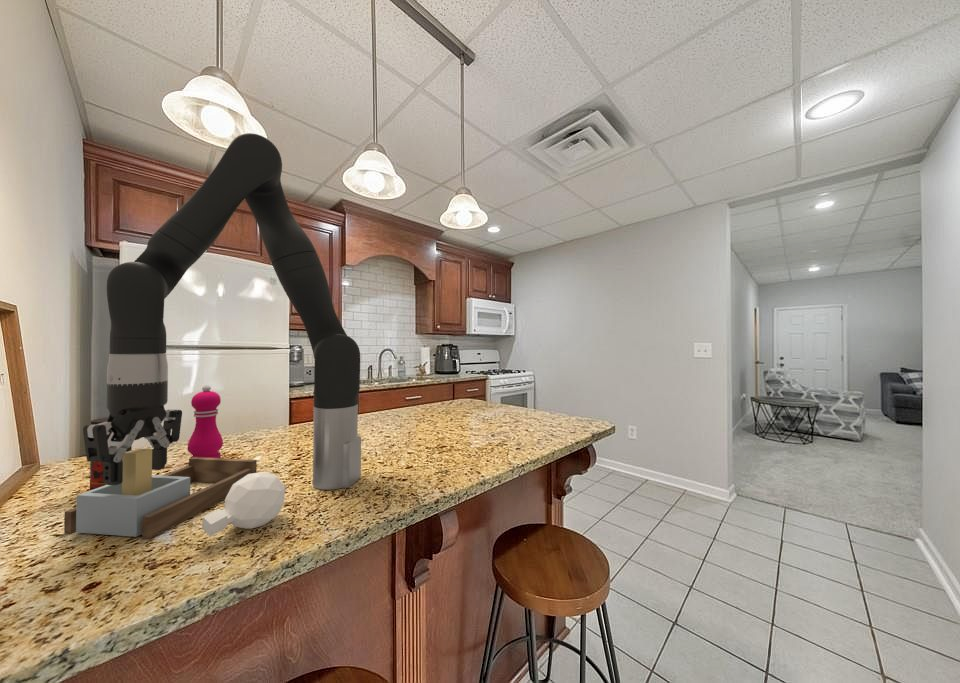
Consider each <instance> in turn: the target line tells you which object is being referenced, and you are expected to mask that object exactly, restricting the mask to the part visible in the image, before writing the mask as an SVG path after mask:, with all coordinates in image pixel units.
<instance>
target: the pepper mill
mask: <svg viewBox="0 0 960 683" xmlns="http://www.w3.org/2000/svg"><path fill="white" fill-rule="evenodd" d="M211 388H212V387H211V386H210V385H203V386H202V388H201V391H200V392H198V393H196V394H195V395H193V396H192V397H191V398H192V399H191V402H190V403H191V407H192V408H193V409H194V411H193V417H194V418H195V426H194V430H193V431H192V434H191V436H190V438H189V440H188V443H187V451H188V453H189V454H191V456H190V457H189V459H190V458H193V457H204V458H221V452H219V451H220V450H221V449H222V448H223V446H224V441H223V436H222V434H221V433H220V431H219V429H218V426H217V415H218V414H219V412H218V411H219V408H218V407H219V406H220V405H221V399H222V398H221V396H220V394H219V393H218V392H215V391H213V390H211Z"/></svg>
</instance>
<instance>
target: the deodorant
mask: <svg viewBox="0 0 960 683" xmlns="http://www.w3.org/2000/svg"><path fill="white" fill-rule="evenodd" d="M108 417H109V416H108ZM108 417H100V418H95V419H92V420H90V424H91V425H96V424H100V423H103V422H106V420H107V419H108ZM108 432H110V433H109V435H107V440H108V439H109V437H110V435H111V433H112V431H111V430H110V429H109V431H108ZM121 441H123V440H121V439H119V440H118V442H121ZM132 445H133V444H132ZM132 445H131V447H130V448H128V449H127V450H126V452H128V451H131V450H133V446H132ZM114 453H115V452H114ZM121 461H122V460H121ZM105 485H107V484H106V483H104V481H103V463H102V462H89V491H90V490H93V489H96V488H99V487H102V486H105Z"/></svg>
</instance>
